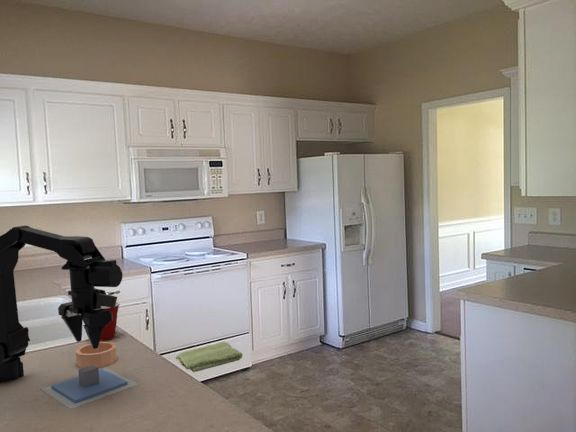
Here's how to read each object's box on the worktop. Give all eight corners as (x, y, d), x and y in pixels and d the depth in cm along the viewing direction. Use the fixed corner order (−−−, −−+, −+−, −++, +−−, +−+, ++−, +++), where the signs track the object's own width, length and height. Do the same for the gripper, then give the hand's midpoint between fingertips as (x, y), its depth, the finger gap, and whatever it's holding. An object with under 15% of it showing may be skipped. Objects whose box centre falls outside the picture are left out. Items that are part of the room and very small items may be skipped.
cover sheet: (75, 403, 125) (73, 384, 124) (51, 388, 134) (50, 370, 134) (127, 384, 135) (126, 366, 134) (102, 371, 144) (100, 355, 144)
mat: (70, 412, 122) (70, 408, 122) (40, 392, 134) (40, 388, 134) (138, 387, 135) (138, 384, 135) (105, 371, 147) (105, 367, 147)
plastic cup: (118, 330, 185) (116, 298, 184) (125, 338, 176) (123, 304, 175) (86, 336, 180) (84, 303, 179) (92, 345, 170) (89, 309, 169)
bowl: (88, 374, 145) (86, 357, 144) (71, 365, 152) (69, 349, 152) (123, 363, 153) (122, 346, 152) (105, 355, 160) (104, 339, 160)
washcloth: (173, 361, 154) (172, 351, 154) (227, 349, 163) (226, 339, 163) (188, 375, 143) (187, 364, 143) (245, 361, 152) (244, 351, 151)
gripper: (129, 284, 132) (133, 343, 133) (95, 276, 145) (99, 330, 146) (88, 293, 124) (92, 356, 125) (55, 284, 136) (60, 341, 138)
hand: (87, 344), depth 134 cm, fingers open, 9 cm apart
